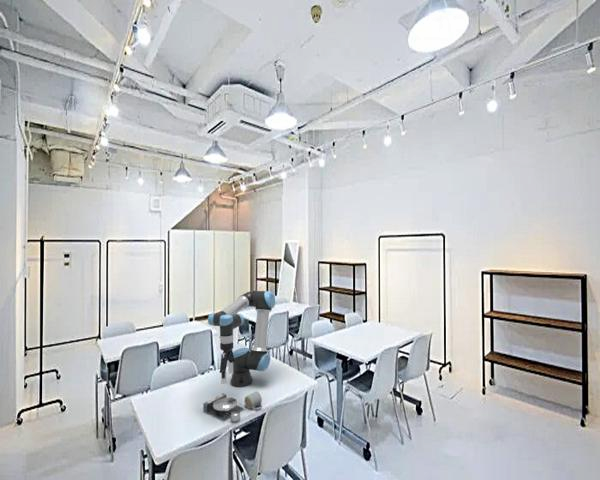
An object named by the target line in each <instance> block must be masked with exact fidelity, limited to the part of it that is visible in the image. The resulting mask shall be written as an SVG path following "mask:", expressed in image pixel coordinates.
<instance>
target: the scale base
mask: <svg viewBox="0 0 600 480" xmlns="http://www.w3.org/2000/svg"><path fill="white" fill-rule="evenodd" d="M221 398H227V394H226V393H221V394H219V395H217V396H215V397H213V398H211V399H209V400H208V401H205V402H204V403H202V404H203V405H202V406H203V407H202V409H203V413H204V414H207V415H209V416H211V417H213V418H216V419H218V420H220V421H222V422H226V421H227V420H229V419H231V413H232V412H234V411H239V412H240V413H241V412H242V411H244V410H245V409H244V407H241V406H240V405H238V404H237V405H236V407H234V408H233V409H230V410H227V411H218V410H215V409H214V408H213V403H214V402H215V401H217V400H218V399H221Z"/></svg>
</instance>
